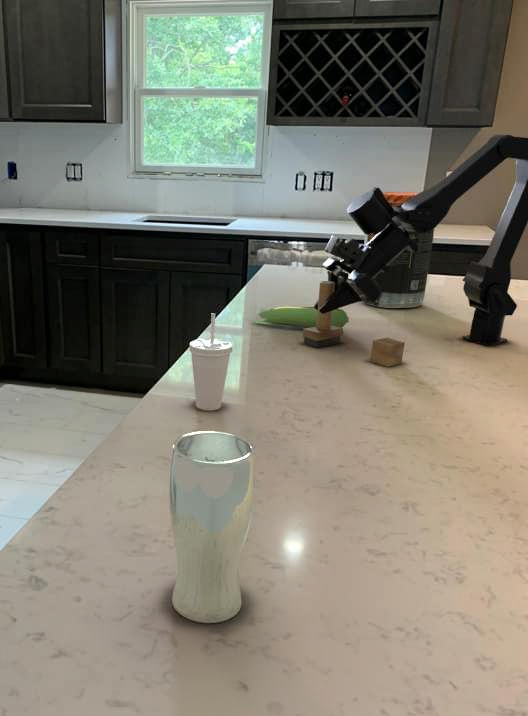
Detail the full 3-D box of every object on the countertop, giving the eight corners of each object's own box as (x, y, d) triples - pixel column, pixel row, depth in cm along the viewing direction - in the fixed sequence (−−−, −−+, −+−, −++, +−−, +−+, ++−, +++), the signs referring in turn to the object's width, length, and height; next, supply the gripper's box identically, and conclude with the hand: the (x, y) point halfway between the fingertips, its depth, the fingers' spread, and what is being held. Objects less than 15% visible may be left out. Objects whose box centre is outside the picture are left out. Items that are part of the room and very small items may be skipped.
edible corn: (346, 334, 152) (348, 313, 150) (251, 326, 157) (252, 305, 155) (347, 329, 156) (350, 307, 155) (255, 321, 161) (256, 300, 160)
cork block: (384, 358, 136) (386, 337, 135) (401, 363, 133) (404, 342, 132) (369, 361, 134) (372, 340, 132) (387, 367, 131) (390, 345, 129)
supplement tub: (430, 301, 184) (447, 193, 173) (412, 313, 172) (430, 197, 161) (368, 294, 191) (381, 189, 181) (348, 304, 179) (361, 193, 169)
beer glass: (164, 581, 67) (166, 430, 61) (238, 579, 68) (248, 429, 62) (170, 628, 61) (174, 465, 55) (253, 625, 61) (265, 463, 55)
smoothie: (234, 402, 112) (239, 312, 107) (223, 416, 107) (228, 321, 101) (194, 396, 114) (197, 308, 109) (181, 410, 109) (184, 317, 103)
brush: (326, 338, 148) (332, 279, 144) (341, 342, 145) (347, 282, 141) (302, 343, 145) (306, 282, 140) (316, 347, 142) (322, 285, 137)
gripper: (337, 216, 145) (279, 272, 148) (373, 227, 128) (306, 290, 131) (370, 256, 149) (313, 310, 152) (409, 272, 132) (343, 333, 135)
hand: (317, 310), depth 142 cm, fingers closed on brush, 3 cm apart
